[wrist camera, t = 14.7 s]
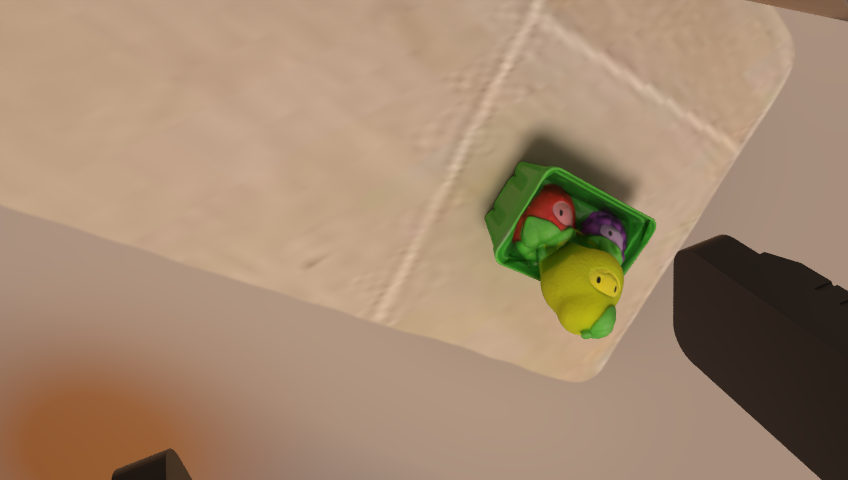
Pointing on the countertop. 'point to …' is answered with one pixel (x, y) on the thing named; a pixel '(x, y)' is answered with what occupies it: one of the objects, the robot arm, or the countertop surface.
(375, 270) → the countertop surface
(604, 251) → the fruit basket
